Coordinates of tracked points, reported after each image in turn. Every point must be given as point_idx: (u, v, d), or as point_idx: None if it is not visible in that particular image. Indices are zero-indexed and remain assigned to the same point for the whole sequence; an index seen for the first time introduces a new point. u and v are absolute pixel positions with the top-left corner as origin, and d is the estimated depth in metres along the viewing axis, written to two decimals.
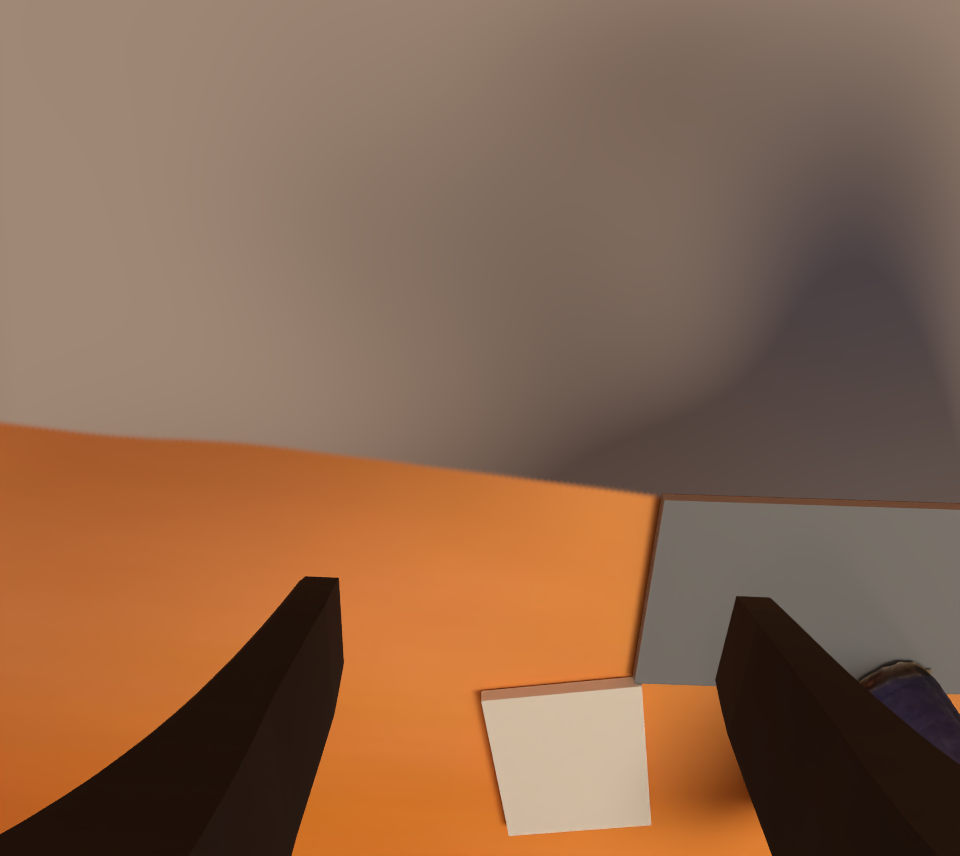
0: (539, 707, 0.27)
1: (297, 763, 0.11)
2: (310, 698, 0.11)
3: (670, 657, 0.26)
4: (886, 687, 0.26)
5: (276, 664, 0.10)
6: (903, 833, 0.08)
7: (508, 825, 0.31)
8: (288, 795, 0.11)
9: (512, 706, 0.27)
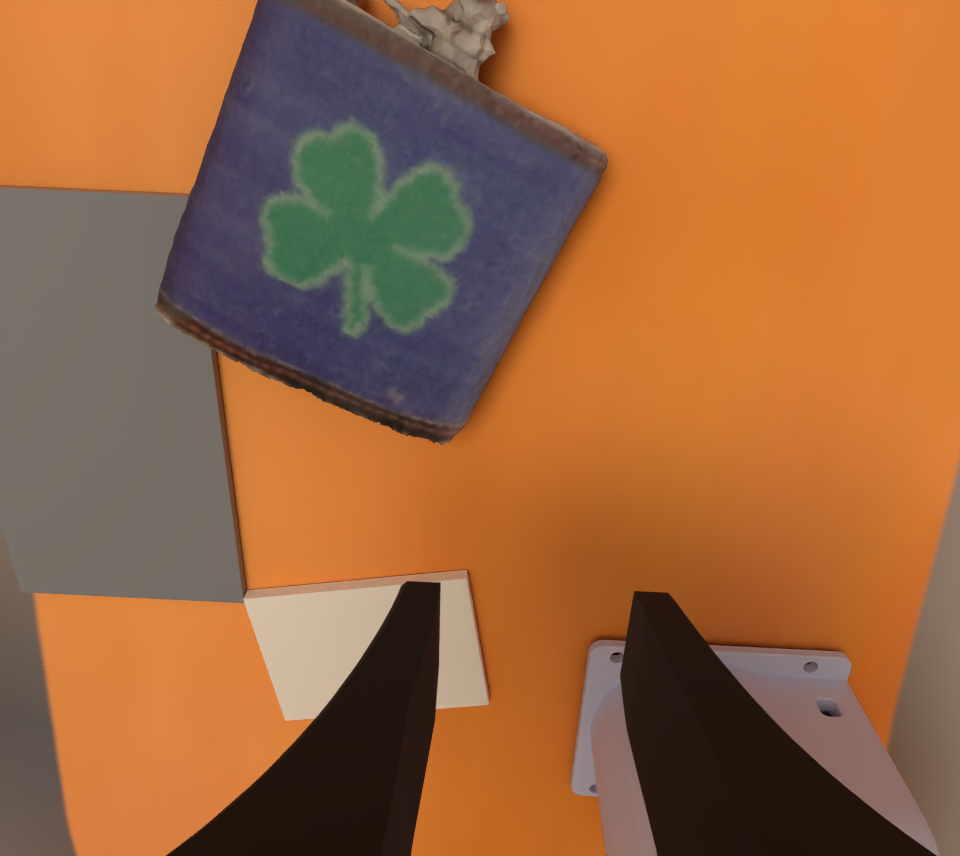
0: (287, 678, 0.27)
1: (416, 768, 0.11)
2: (425, 703, 0.11)
3: (202, 575, 0.25)
4: (185, 304, 0.19)
5: (403, 670, 0.10)
6: (739, 825, 0.08)
7: (470, 704, 0.28)
8: (411, 801, 0.11)
9: (289, 698, 0.28)
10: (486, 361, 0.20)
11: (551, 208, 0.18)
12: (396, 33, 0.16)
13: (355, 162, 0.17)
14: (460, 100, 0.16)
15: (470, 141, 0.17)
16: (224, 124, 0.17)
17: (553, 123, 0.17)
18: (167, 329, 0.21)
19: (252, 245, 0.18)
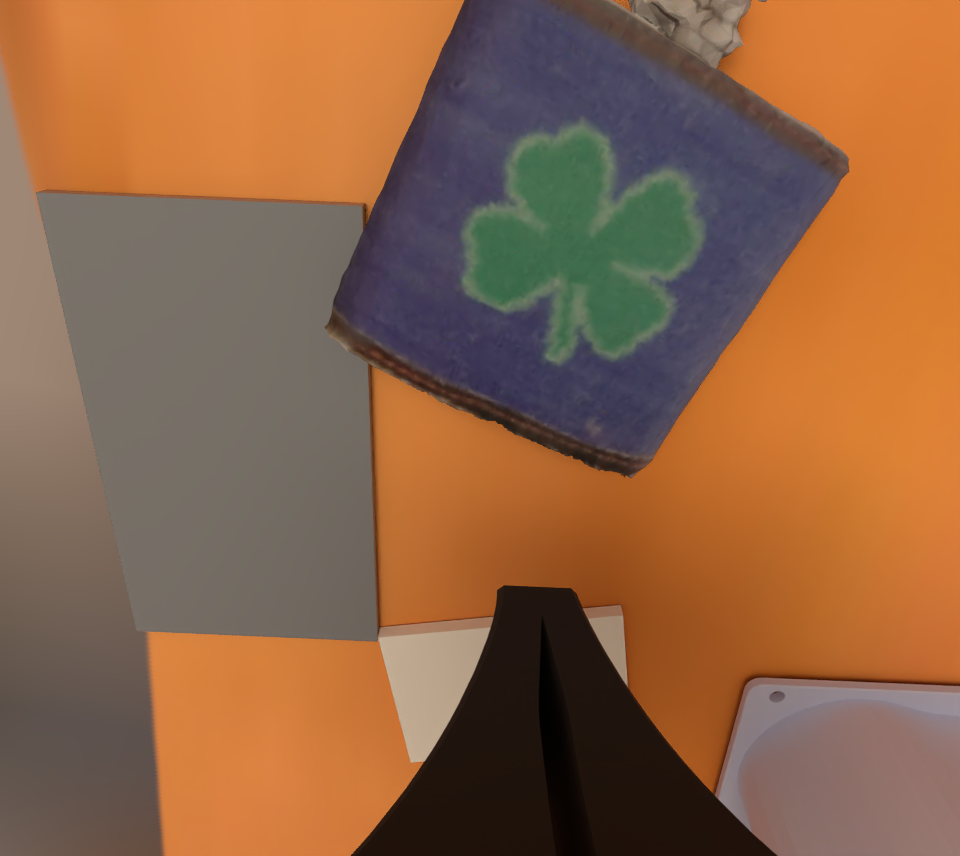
0: (417, 719, 0.25)
1: None
2: None
3: (335, 612, 0.23)
4: (367, 328, 0.17)
5: (525, 675, 0.10)
6: (583, 819, 0.08)
7: None
8: None
9: (417, 739, 0.26)
10: (692, 388, 0.18)
11: (790, 220, 0.16)
12: (643, 22, 0.14)
13: (582, 169, 0.15)
14: (710, 99, 0.14)
15: (714, 145, 0.15)
16: (427, 127, 0.15)
17: (804, 124, 0.15)
18: (322, 352, 0.19)
19: (452, 262, 0.16)
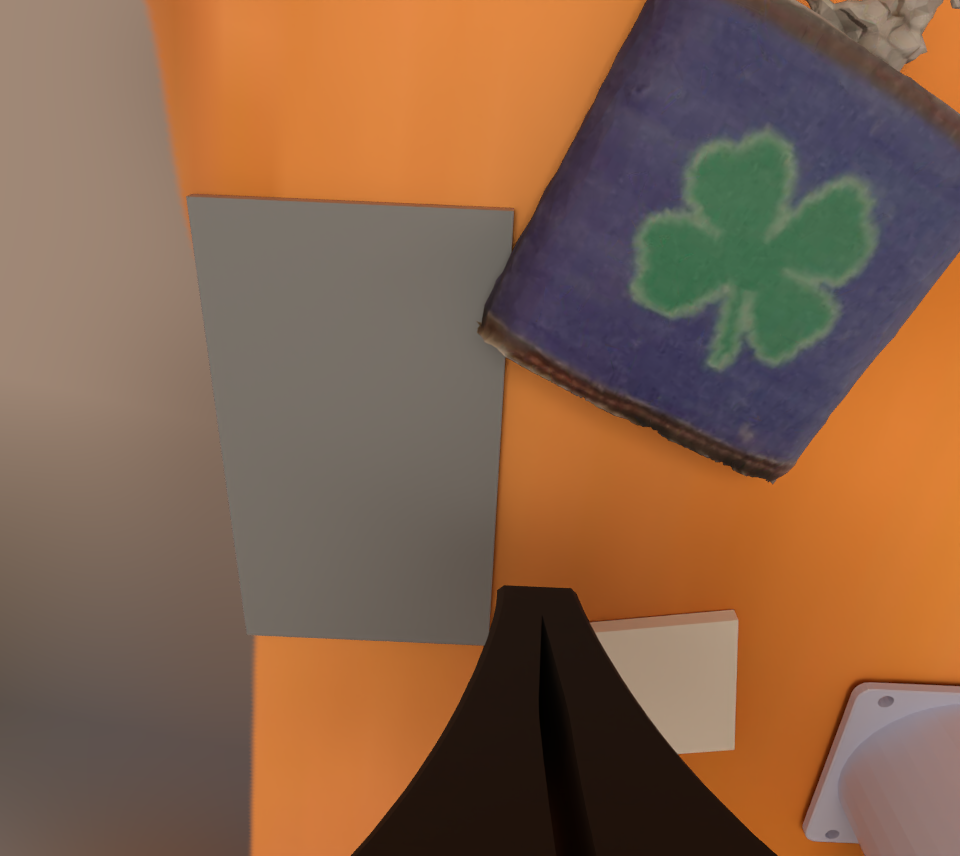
0: None
1: None
2: None
3: (448, 617, 0.23)
4: (528, 334, 0.17)
5: (524, 675, 0.10)
6: (583, 818, 0.08)
7: (714, 749, 0.26)
8: None
9: None
10: (843, 394, 0.18)
11: None
12: (837, 29, 0.14)
13: (763, 176, 0.15)
14: (899, 106, 0.14)
15: (898, 152, 0.15)
16: (602, 133, 0.15)
17: None
18: (459, 357, 0.19)
19: (621, 269, 0.16)
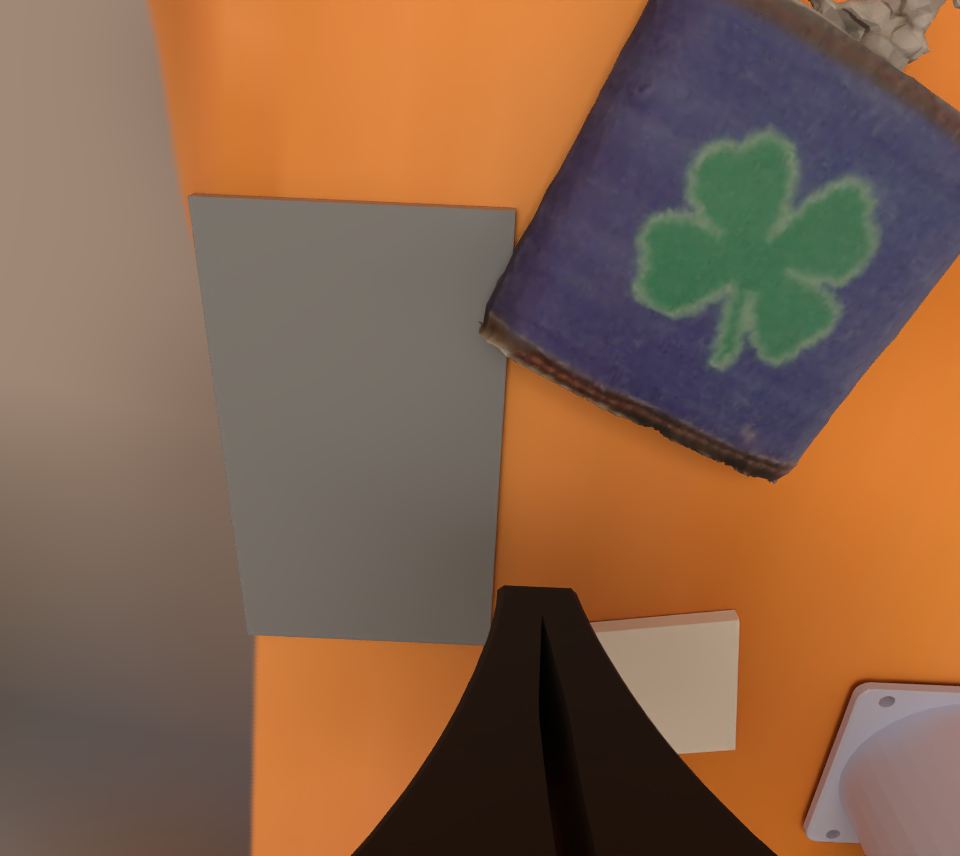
0: None
1: None
2: None
3: (450, 617, 0.23)
4: (530, 334, 0.17)
5: (525, 675, 0.10)
6: (583, 818, 0.08)
7: (715, 749, 0.26)
8: None
9: None
10: (845, 394, 0.18)
11: None
12: (839, 29, 0.14)
13: (765, 176, 0.15)
14: (901, 105, 0.14)
15: (900, 152, 0.15)
16: (604, 133, 0.15)
17: None
18: (461, 357, 0.19)
19: (623, 269, 0.16)
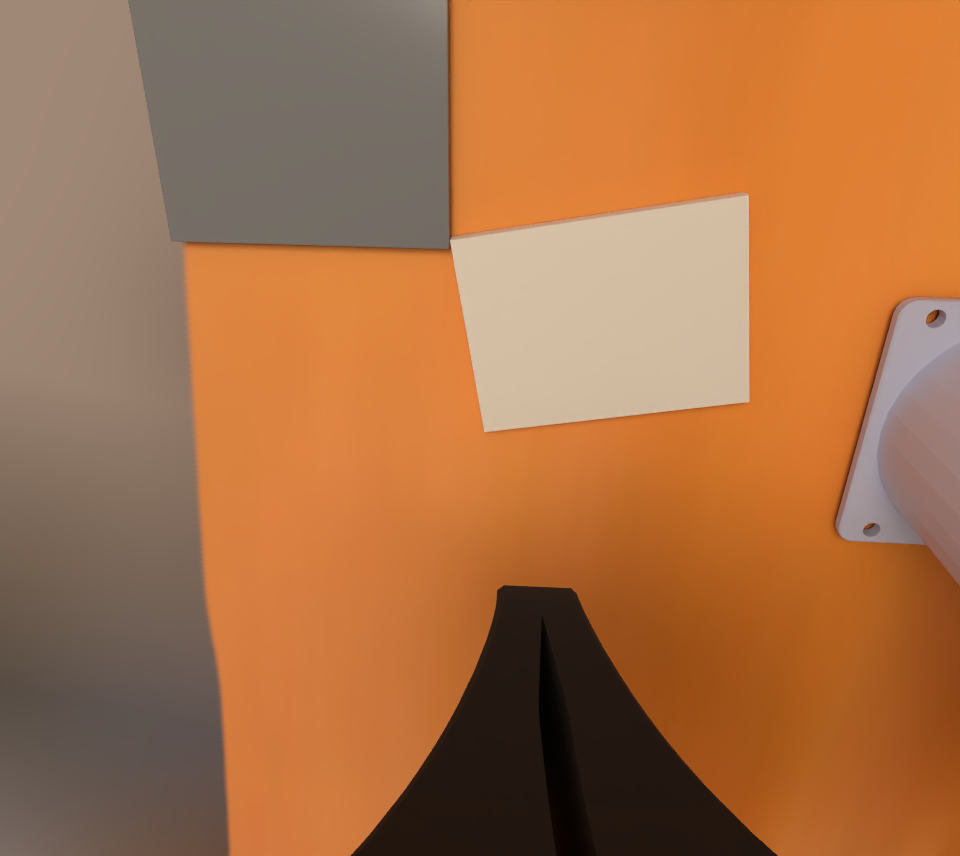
0: (493, 366, 0.22)
1: None
2: None
3: (400, 205, 0.20)
4: None
5: (525, 675, 0.10)
6: (583, 819, 0.08)
7: (725, 402, 0.22)
8: None
9: (492, 397, 0.22)
10: None
11: None
12: None
13: None
14: None
15: None
16: None
17: None
18: None
19: None
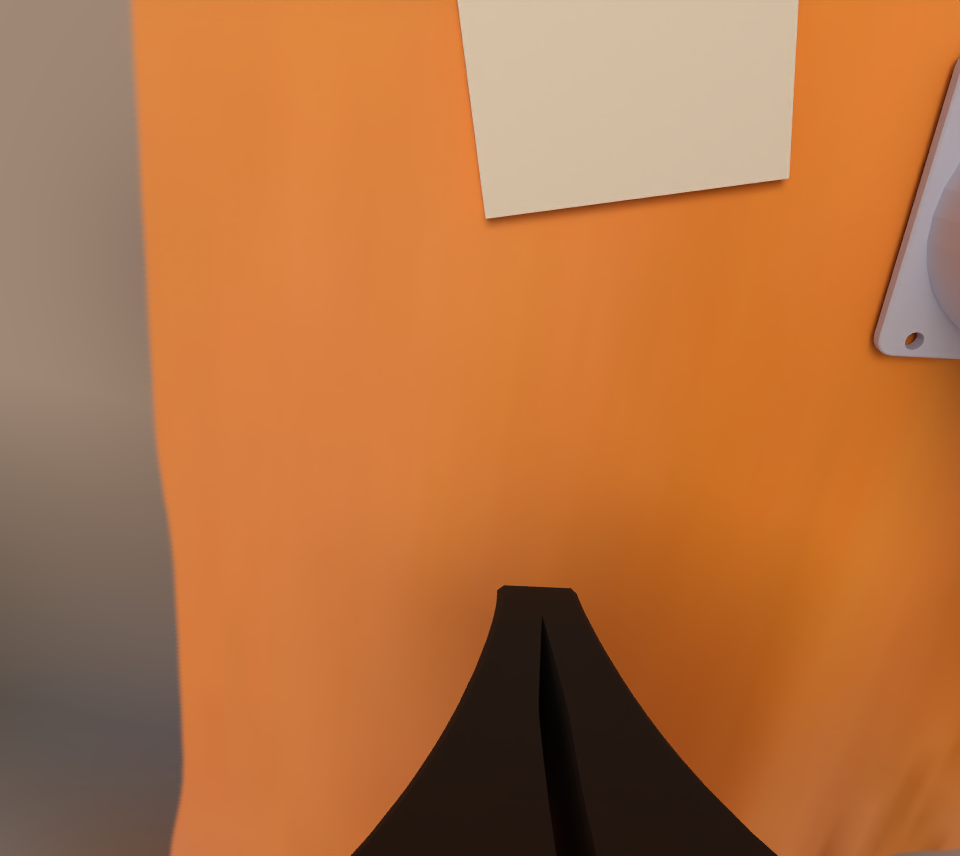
0: (498, 131, 0.19)
1: None
2: None
3: None
4: None
5: (525, 675, 0.10)
6: (583, 818, 0.08)
7: (762, 179, 0.19)
8: None
9: (496, 172, 0.19)
10: None
11: None
12: None
13: None
14: None
15: None
16: None
17: None
18: None
19: None
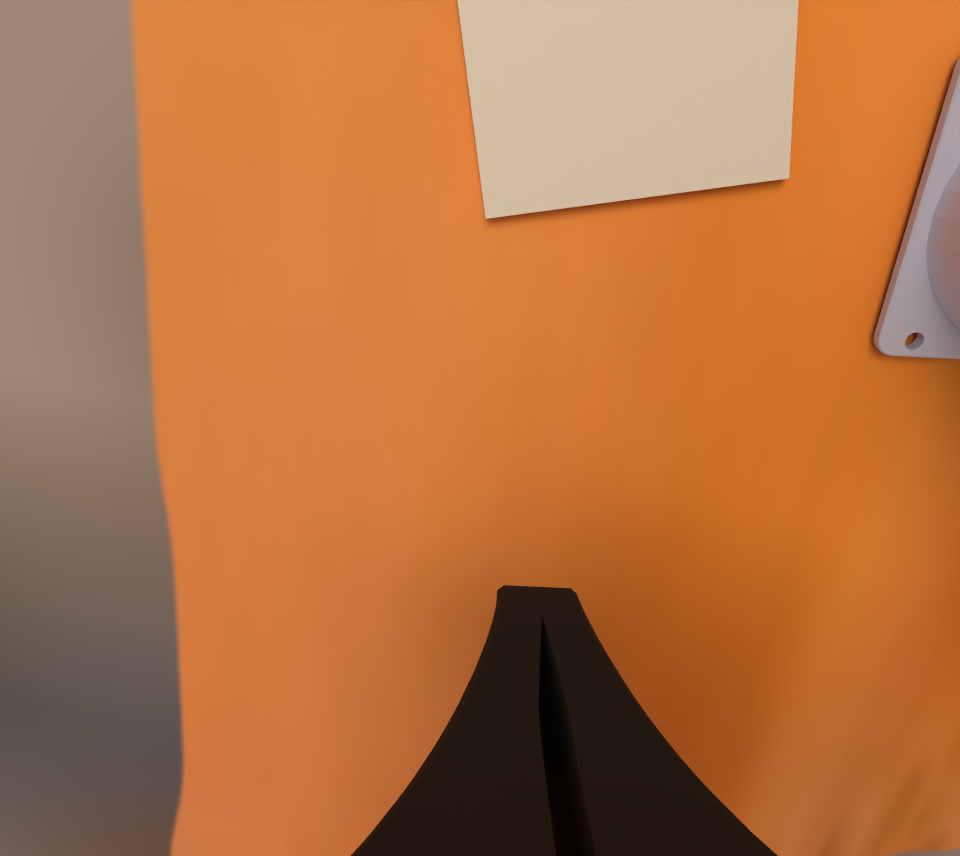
0: (498, 131, 0.19)
1: None
2: None
3: None
4: None
5: (525, 675, 0.10)
6: (583, 818, 0.08)
7: (762, 179, 0.19)
8: None
9: (496, 172, 0.19)
10: None
11: None
12: None
13: None
14: None
15: None
16: None
17: None
18: None
19: None
